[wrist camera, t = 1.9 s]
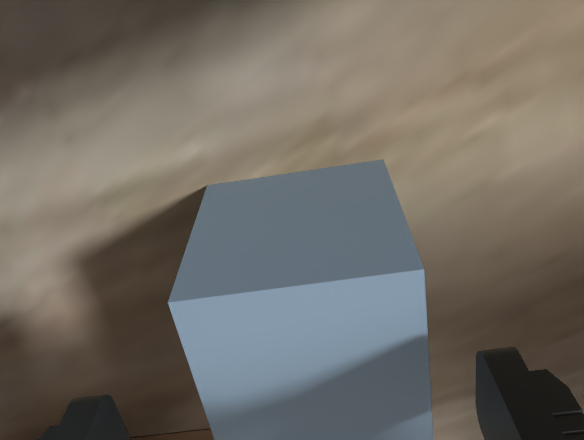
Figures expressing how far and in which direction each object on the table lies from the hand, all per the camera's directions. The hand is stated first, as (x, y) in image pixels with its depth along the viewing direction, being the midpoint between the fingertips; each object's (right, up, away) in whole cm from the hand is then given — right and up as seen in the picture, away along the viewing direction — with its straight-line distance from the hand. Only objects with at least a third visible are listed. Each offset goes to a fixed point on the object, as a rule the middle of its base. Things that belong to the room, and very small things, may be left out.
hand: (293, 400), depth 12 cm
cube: (0, +3, +6) cm, 7 cm away
